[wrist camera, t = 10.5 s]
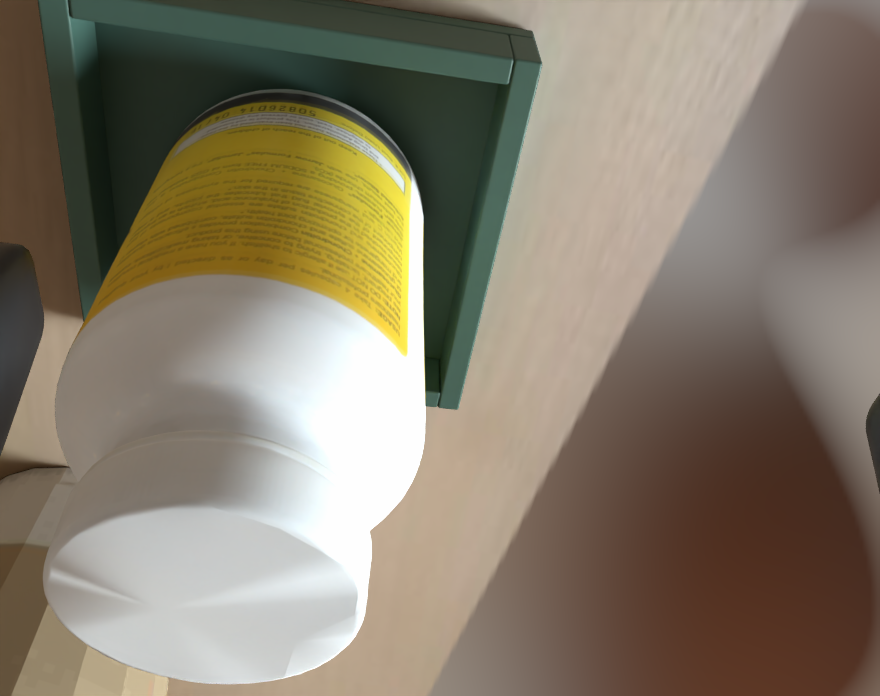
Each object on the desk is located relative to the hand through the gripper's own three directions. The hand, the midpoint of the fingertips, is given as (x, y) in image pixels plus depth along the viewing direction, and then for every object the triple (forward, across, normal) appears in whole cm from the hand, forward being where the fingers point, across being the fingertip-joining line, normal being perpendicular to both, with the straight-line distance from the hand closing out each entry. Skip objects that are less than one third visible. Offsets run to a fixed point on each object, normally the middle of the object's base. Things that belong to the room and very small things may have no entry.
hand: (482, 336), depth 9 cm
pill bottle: (+12, +3, +6) cm, 14 cm away
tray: (+12, +3, +6) cm, 14 cm away
